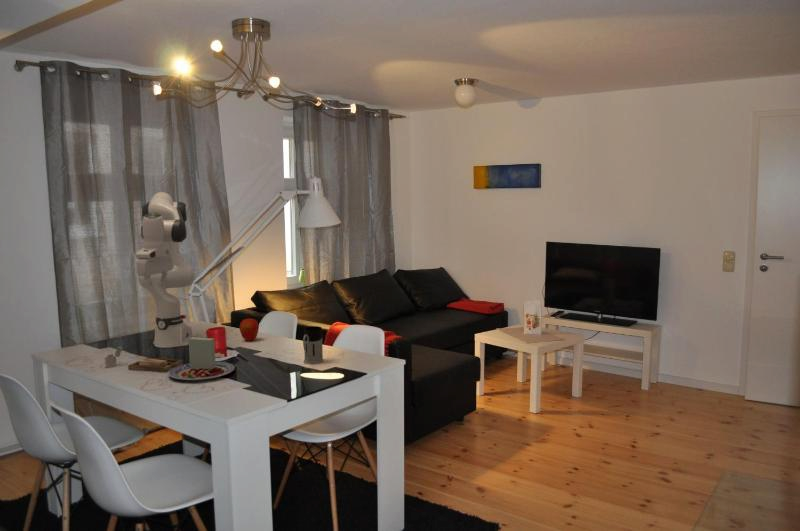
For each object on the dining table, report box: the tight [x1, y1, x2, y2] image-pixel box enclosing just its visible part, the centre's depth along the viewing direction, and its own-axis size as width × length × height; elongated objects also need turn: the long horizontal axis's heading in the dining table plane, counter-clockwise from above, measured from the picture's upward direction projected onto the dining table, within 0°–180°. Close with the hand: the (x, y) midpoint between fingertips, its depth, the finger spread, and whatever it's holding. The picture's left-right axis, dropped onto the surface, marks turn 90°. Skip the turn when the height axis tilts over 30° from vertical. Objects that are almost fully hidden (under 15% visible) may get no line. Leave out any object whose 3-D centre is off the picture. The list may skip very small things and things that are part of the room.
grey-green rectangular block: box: [188, 336, 216, 369], centre depth 256 cm, size 3×10×12 cm, turn 75°
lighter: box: [104, 346, 123, 369], centre depth 269 cm, size 7×2×8 cm, turn 137°
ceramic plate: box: [167, 361, 235, 381], centre depth 256 cm, size 26×26×3 cm
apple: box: [239, 318, 260, 342], centre depth 313 cm, size 9×9×12 cm
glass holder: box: [302, 325, 325, 365], centre depth 270 cm, size 9×14×15 cm, turn 164°
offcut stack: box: [138, 357, 168, 367], centre depth 265 cm, size 5×12×4 cm, turn 71°
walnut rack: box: [127, 357, 185, 373], centre depth 267 cm, size 13×18×2 cm
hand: (156, 283), depth 269 cm, fingers open, 8 cm apart
